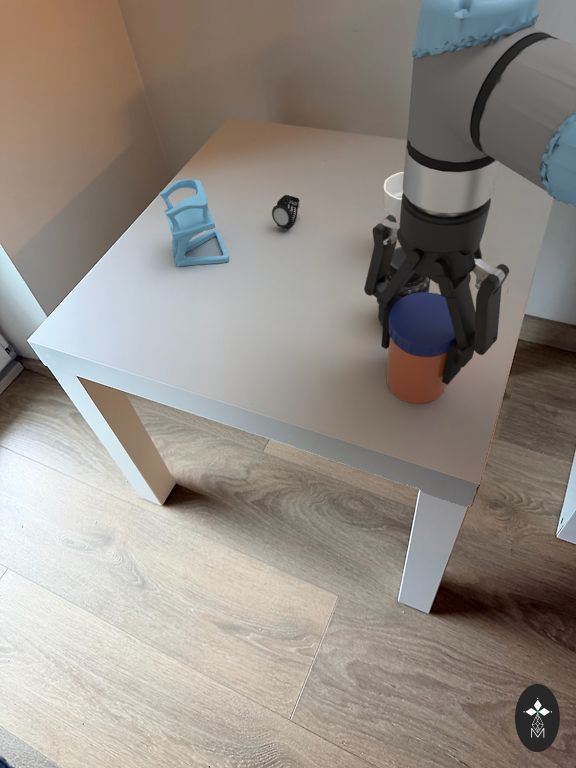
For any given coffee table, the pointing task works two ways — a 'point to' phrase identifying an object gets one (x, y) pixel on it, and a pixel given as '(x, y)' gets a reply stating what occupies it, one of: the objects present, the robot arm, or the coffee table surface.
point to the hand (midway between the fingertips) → (419, 358)
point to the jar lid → (421, 324)
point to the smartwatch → (285, 211)
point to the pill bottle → (414, 283)
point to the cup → (393, 197)
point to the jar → (415, 375)
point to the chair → (191, 224)
